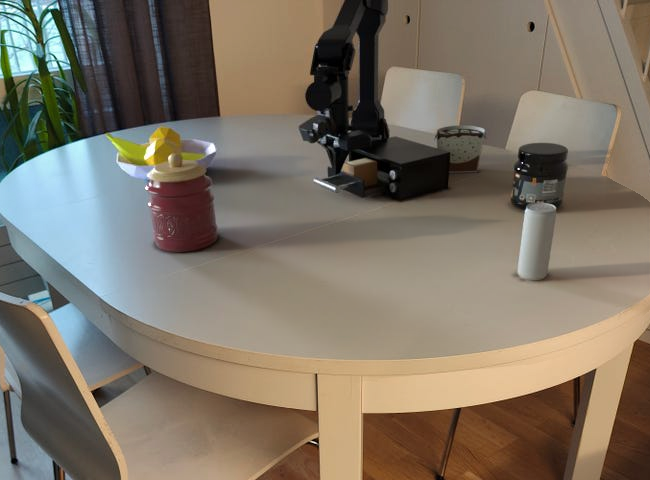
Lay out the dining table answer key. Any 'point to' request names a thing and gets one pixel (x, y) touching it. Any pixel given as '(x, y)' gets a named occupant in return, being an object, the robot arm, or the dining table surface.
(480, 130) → the food container
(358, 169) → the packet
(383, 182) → the tray
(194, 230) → the kitchen canister
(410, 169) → the toaster oven
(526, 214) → the beverage can
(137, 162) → the fruit bowl
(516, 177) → the supplement container
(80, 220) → the dining table surface
